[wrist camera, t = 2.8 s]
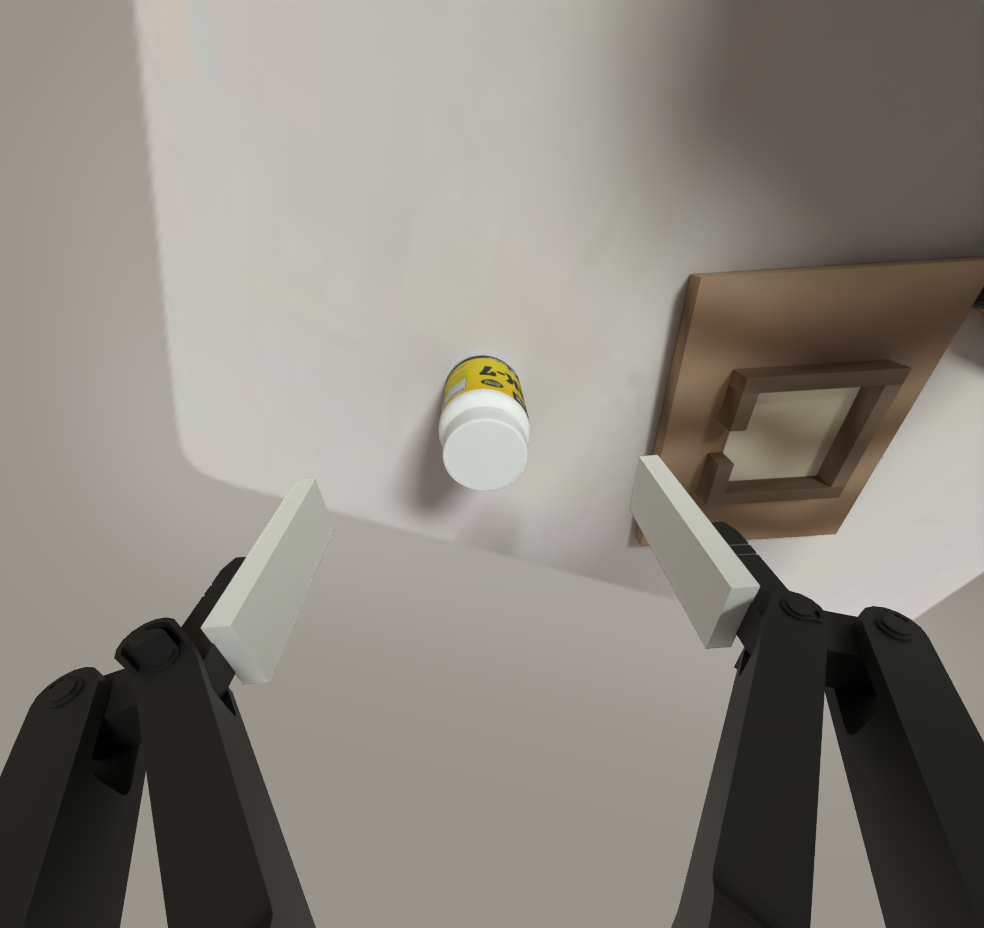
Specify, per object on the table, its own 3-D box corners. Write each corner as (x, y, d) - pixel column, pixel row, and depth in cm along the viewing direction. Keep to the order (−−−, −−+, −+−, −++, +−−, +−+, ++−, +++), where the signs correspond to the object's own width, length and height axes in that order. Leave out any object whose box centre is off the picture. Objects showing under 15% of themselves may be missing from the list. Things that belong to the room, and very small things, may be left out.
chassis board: (690, 274, 22) (715, 282, 19) (975, 256, 22) (1033, 262, 19) (635, 536, 33) (647, 560, 30) (824, 524, 33) (850, 547, 31)
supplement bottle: (534, 384, 25) (558, 453, 18) (487, 434, 27) (491, 514, 20) (477, 335, 23) (479, 390, 16) (430, 391, 25) (413, 463, 18)
